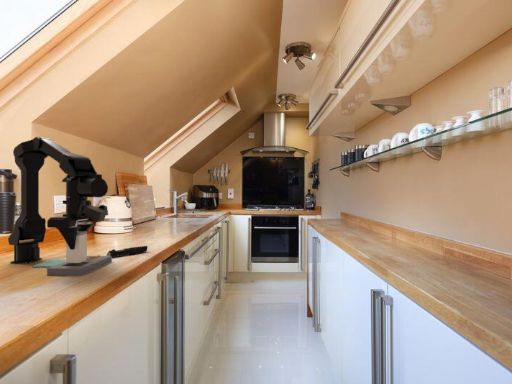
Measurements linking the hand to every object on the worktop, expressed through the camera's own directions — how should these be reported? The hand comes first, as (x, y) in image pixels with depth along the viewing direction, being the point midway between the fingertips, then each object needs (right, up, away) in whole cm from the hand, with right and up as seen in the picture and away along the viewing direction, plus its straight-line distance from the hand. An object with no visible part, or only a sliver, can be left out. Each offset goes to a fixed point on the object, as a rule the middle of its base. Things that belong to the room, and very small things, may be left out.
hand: (76, 248), depth 96 cm
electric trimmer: (+6, -7, +24) cm, 26 cm away
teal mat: (-11, -7, +8) cm, 15 cm away
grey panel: (0, -7, +3) cm, 7 cm away
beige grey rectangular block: (0, -4, 0) cm, 4 cm away
